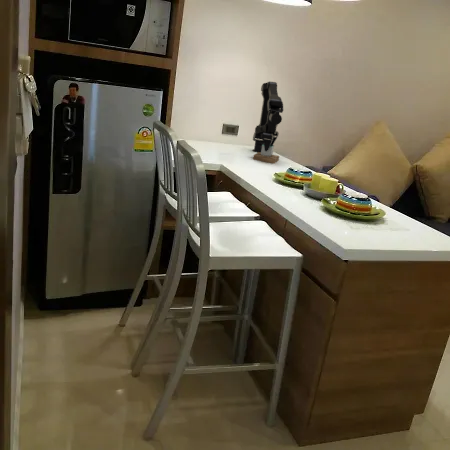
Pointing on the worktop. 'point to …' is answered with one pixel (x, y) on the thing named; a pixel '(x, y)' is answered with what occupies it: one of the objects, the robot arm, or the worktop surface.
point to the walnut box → (266, 158)
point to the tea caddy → (268, 152)
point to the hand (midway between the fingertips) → (267, 150)
